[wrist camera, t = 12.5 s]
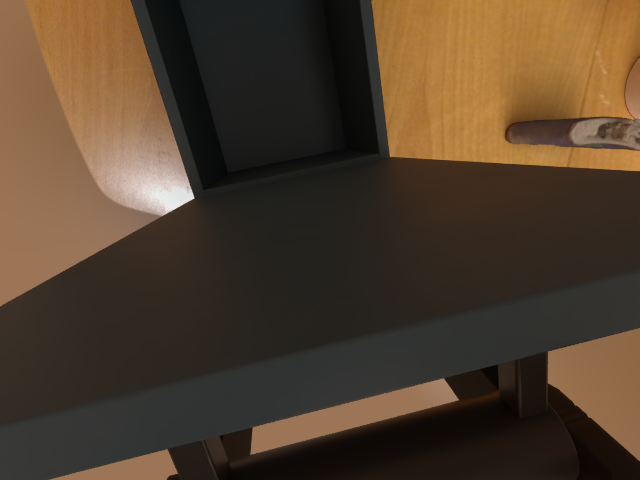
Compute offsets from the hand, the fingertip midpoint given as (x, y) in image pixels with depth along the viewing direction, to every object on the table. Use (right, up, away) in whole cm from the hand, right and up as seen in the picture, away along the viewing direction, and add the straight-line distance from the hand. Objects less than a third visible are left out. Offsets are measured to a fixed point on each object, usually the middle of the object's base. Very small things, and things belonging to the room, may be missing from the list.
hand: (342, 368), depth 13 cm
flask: (+25, +18, +25) cm, 40 cm away
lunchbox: (-6, +22, +20) cm, 30 cm away
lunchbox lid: (-2, +7, 0) cm, 7 cm away
